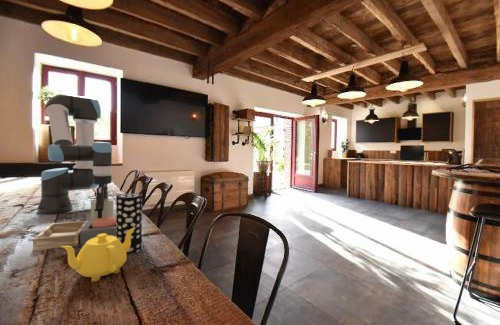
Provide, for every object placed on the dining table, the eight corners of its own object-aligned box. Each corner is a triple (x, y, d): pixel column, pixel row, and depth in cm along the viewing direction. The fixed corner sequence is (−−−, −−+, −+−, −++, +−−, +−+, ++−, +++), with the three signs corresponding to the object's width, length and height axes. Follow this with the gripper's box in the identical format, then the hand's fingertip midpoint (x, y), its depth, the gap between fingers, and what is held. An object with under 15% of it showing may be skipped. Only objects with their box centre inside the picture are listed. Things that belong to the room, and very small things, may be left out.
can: (102, 228, 106) (102, 202, 106) (85, 226, 108) (85, 200, 107) (118, 222, 115) (118, 198, 115) (101, 220, 117) (101, 196, 116)
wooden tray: (51, 232, 99) (51, 223, 99) (88, 229, 104) (88, 220, 104) (33, 250, 83) (32, 239, 82) (78, 245, 88) (77, 234, 88)
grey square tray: (88, 231, 102) (88, 220, 101) (124, 228, 108) (124, 217, 107) (80, 244, 89) (80, 231, 89) (122, 239, 95) (122, 227, 95)
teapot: (72, 300, 57) (72, 254, 57) (52, 278, 66) (52, 238, 65) (149, 268, 74) (149, 232, 73) (125, 254, 82) (125, 222, 82)
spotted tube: (146, 247, 89) (147, 194, 87) (128, 256, 81) (129, 198, 80) (129, 243, 91) (129, 192, 90) (110, 252, 83) (110, 196, 82)
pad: (93, 223, 100) (93, 218, 100) (118, 221, 104) (118, 216, 104) (89, 230, 92) (89, 224, 92) (115, 228, 96) (115, 222, 96)
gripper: (97, 172, 120) (97, 214, 121) (87, 178, 98) (87, 229, 99) (114, 172, 123) (114, 213, 124) (108, 178, 101) (108, 228, 102)
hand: (102, 220), depth 112 cm, fingers open, 11 cm apart
